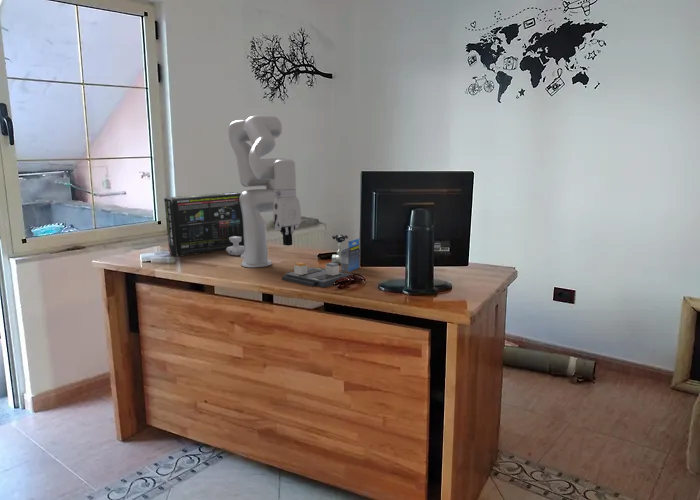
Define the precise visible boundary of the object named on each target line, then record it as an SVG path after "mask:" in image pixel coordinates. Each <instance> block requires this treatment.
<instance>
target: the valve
mask: <svg viewBox="0 0 700 500" xmlns="http://www.w3.org/2000/svg"><path fill="white" fill-rule="evenodd" d="M348 238H349V236H348V234H344V235H343V234H335V235H332V239H333V240H335V241H336V242H337V243H338V244H337V248H338V249H337V250H336V254H332V256H331V262H332V263H337V264H338V265H341V251H342V250H343V244H342V243H343V242H345V240H346V239H347V240H348Z"/></svg>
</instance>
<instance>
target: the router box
mask: <svg viewBox="0 0 700 500" xmlns="http://www.w3.org/2000/svg"><path fill="white" fill-rule="evenodd" d="M241 193H242V192H241ZM241 193H239V192H235V191H234V192H233V191H230V192H229V191H228V192H219V193H218V192H217V193H205V194H192V195H190V194H189V195H181V196H170V197H169V196H167V197H164V198H163V200H164V208H165V219H166V230H167V242H168V243H167V244H168V251H169V252H170V253H171V254H172V256H174V257H182V256H181V255H184V256H188V255H187V254H192V255H196V254H195V253H199V254H204V253H203V252H206V253H211V252H218V251H226V248H227V247H230V246H233V242H230V240H229V237H233V236H238V237H242V240H241V242H239V246H244V234H243V219H242V212H241V207H240V202H239V197H240V195H241ZM170 253H169V254H170ZM171 254H170V255H171Z"/></svg>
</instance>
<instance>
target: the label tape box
mask: <svg viewBox="0 0 700 500" xmlns="http://www.w3.org/2000/svg"><path fill="white" fill-rule="evenodd" d="M359 240H360V238H355V239H353V240H350V241H347V243H348V247H347V248H345V249H342V251H341V264H340V272H344V273H350V272H352V271H354V270H356V269H359V268H360V259H359ZM354 243H355V244H354Z"/></svg>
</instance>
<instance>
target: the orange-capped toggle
mask: <svg viewBox="0 0 700 500" xmlns="http://www.w3.org/2000/svg"><path fill="white" fill-rule="evenodd" d="M307 268H308V264H307V263H306V262H301V261H298V262H294V265H293V270H294V271H293V272H294V274H299V275H304V274H307Z"/></svg>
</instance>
